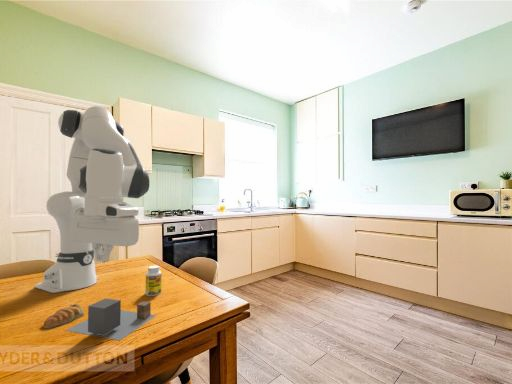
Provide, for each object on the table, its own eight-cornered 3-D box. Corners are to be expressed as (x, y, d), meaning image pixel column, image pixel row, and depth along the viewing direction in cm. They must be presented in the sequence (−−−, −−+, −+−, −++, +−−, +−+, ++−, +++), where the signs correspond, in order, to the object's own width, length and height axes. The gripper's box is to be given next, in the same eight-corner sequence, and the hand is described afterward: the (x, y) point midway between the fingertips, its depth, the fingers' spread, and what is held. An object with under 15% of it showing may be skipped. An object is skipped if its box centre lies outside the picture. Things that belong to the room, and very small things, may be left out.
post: (137, 318, 73) (137, 304, 73) (143, 314, 76) (143, 301, 76) (144, 319, 73) (144, 305, 73) (150, 315, 75) (150, 302, 75)
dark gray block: (87, 332, 64) (88, 306, 64) (105, 322, 69) (105, 298, 69) (103, 334, 63) (104, 308, 63) (120, 324, 68) (120, 300, 68)
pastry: (55, 332, 67) (55, 317, 67) (36, 329, 69) (36, 315, 69) (86, 316, 76) (86, 303, 76) (68, 314, 78) (68, 301, 78)
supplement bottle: (146, 298, 89) (147, 269, 90) (144, 293, 94) (144, 266, 94) (162, 294, 93) (163, 267, 93) (159, 290, 97) (159, 264, 97)
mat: (65, 331, 67) (65, 330, 67) (109, 309, 80) (109, 308, 80) (119, 342, 62) (119, 340, 62) (156, 316, 75) (156, 315, 75)
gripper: (63, 207, 66) (61, 259, 66) (125, 210, 60) (122, 267, 60) (86, 207, 72) (83, 254, 72) (143, 209, 67) (141, 261, 66)
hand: (102, 260), depth 66 cm, fingers closed
